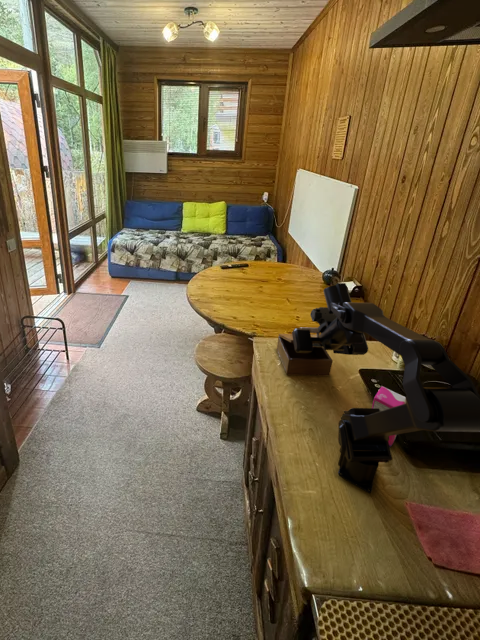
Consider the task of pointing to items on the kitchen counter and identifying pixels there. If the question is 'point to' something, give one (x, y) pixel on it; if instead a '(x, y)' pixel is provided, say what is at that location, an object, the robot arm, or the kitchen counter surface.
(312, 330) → the lid
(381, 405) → the supplement box
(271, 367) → the kitchen counter surface
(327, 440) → the kitchen counter surface
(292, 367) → the chest
